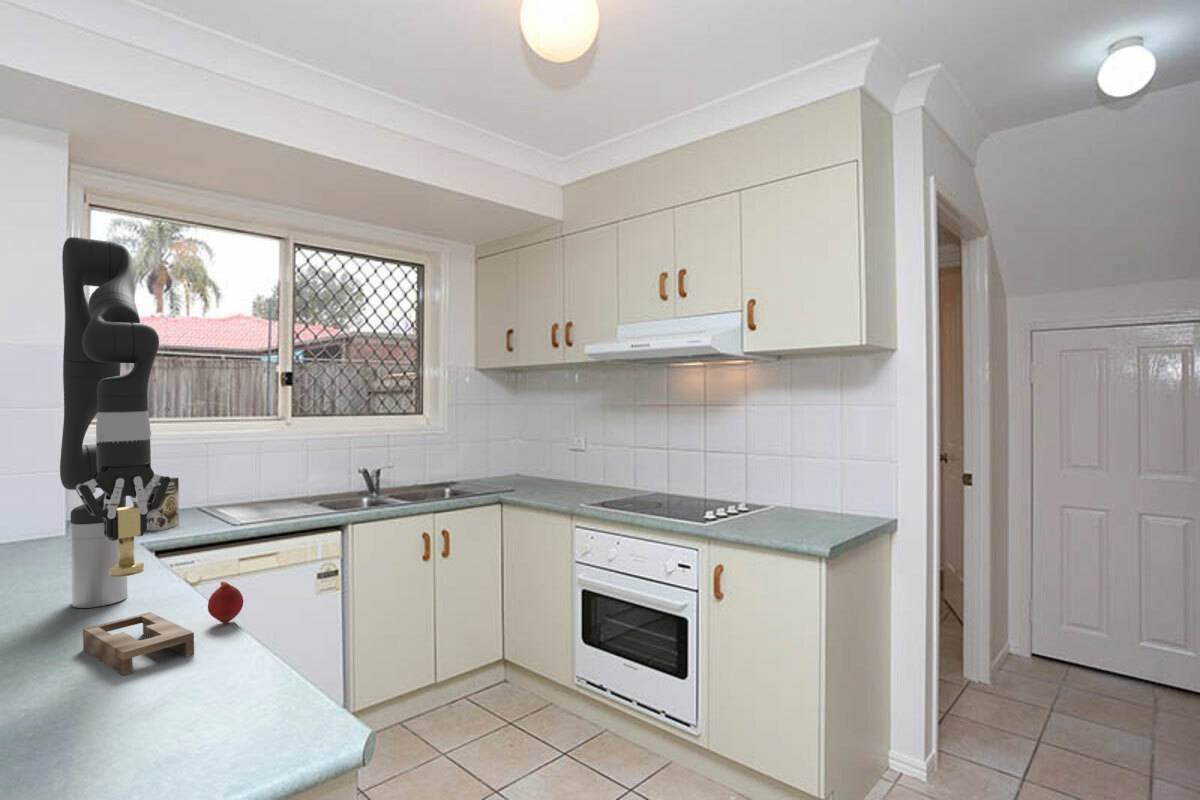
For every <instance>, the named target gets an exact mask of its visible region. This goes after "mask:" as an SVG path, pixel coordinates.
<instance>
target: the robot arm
mask: <svg viewBox="0 0 1200 800" xmlns="http://www.w3.org/2000/svg"><path fill="white" fill-rule="evenodd" d="M61 257H62V260H61V262H62V281H63V295H64V296H63V300H64V338H63V342H64V343H63V356H62V358H63V360H62V378H63V380H62V381H63V383H62V384H63V386H62V387H63V423H62V437H61V449H60V460H59V476H60V482H61V484H62V486H63V487H64V489H66V490H69V491H76V493H77V495H78V496H79V498H80V500H81V501H82V503H83V504H81V505H79V506H76V507H73V509H72V510H71V512H70V542H71V543H70V545H71V546H70V547H71V550H70V551H71V552H70V553H71V595H72V596H71V599H72V601H71V602H72V604H71V605H72V607H73V608H79V609H86V608H87V609H88V608H97V607H98V608H99V607H104V606H107V605H112V604H116V603H119V602H121V601H122V602H123V601H124V600H126V599H127V598H128V576H121V577H112V576H110V575H109V568H110V567H111V566H114V565H118V564H119V552H118V538H117V519H116V518H115V516H116V512H117V508H120V507H127V497H129V499H130V501H131V502H132V506H136V507H140V531H141V535H139V536H138V537H143V536H144V533H147V531H148V530H147V513H148V512H149V511H151V510H153V509H157V508H158V507H159V505H160V503H161V501H162V499H163V496H164V494H165V492H166V489H167V487H168V485H169V483H170V480H171V479H170V478H171V477H170V476H168V475H167V476H166V475H160V474H155V472H154V470H153V468H152V465H151V464H152V463H151V462H152V460H151V458H152V457H151V455H152V454H151V436H152V431H151V421H150V417H149V401H148V399H149V395H148V392H149V391H148V388H149V382H150V381H149V380H150V375H151V372H152V368H153V365H154V362H155V359H156V357H157V354H158V351H159V346H160V337H159V335H158V332H157V331H156V330H155V328H154V327H153V326H152V325H150V324H147V323H141V320H140V315H139V312H138V308H137V305H136V302H135V289H136V287H135V283H136V282H135V265H134V258H133V254H132V253H131V250H130V248H129V247H128V246H127V245H124V244H122V243H119V242H115V241H108V240H101V239H100V240H99V239H91V238H85V237H75V236H74V237H73V236H69V237H68V238H66V240H65V241H64V244H63V248H62V255H61ZM85 286H89V287H90V286H91V287H97V288H95V290H93V292H92V293H91V295H90V297H89V299H87V297H86V294H85V293H86V292H85V289H84V287H85ZM88 300H89V301H88ZM121 364H133V367H132V369H131V371H130V372H128V373H126V374H122V375H121ZM96 416H97V417H96ZM95 417H96V422H95V423H96V424H95V438H96V439H95V442H96V443H95V444H84V441H85V436H86V433H87V431H88V428H89V427H90V425H91V423H92V421H93V420H94V418H95ZM151 480H152V485H153V486H154V488H153V490H152V492H151V494H150V497H149V499H148V501H147V503H146V497H145V493H144V489H145V488H146V486H147V485H148V484H149V482H150V481H151ZM97 489H101V490H102V492H103V493H101V495H99V496H98V497H95V496H94V494H95V493H96V490H97Z"/></svg>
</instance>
